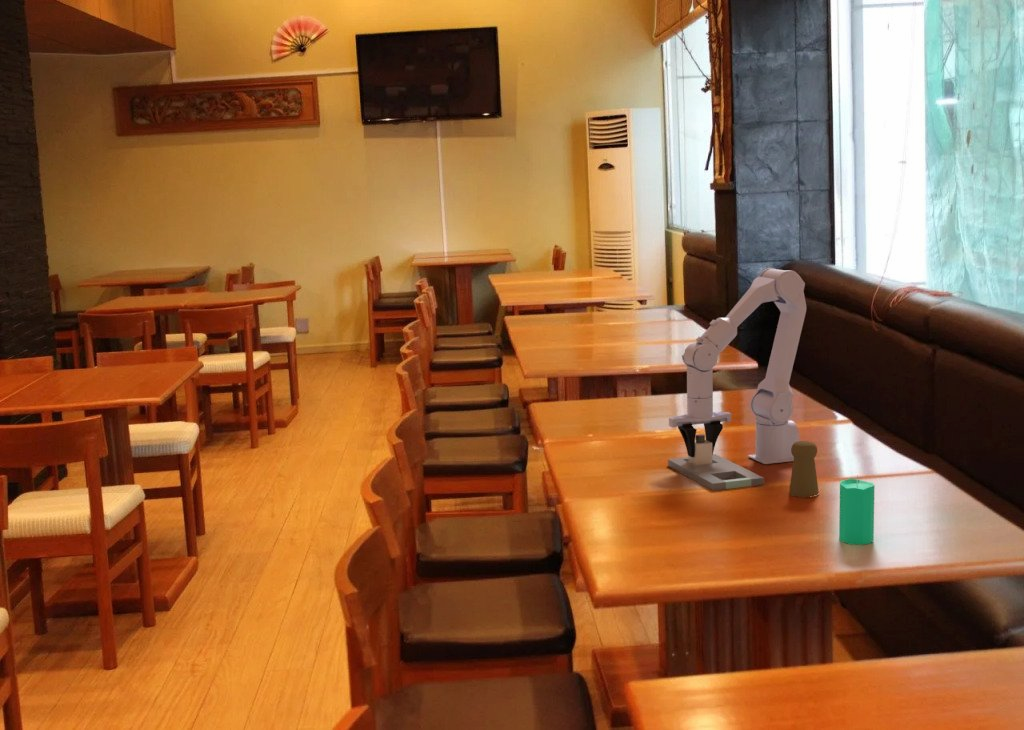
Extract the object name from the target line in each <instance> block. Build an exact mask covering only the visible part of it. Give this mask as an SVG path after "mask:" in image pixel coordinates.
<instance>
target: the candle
mask: <svg viewBox="0 0 1024 730" xmlns="http://www.w3.org/2000/svg"><path fill="white" fill-rule="evenodd" d="M838 524H839V525H838V527H839V529H838V530H839V531H838V538H839V541H840V542H842V543H844V542H845V543H844V544H847V543H848V545H853V546H863V545H862V544H865V545H869V544H868V543H870V544H872V543H873V542H874V535H875V533H874V531H875V526H874V525H875V483H873V482H869V481H865V480H861V479H858V474H857V475H856V479H855V478H847V479H843V480H841V481H839V523H838ZM872 541H873V542H872ZM871 542H872V543H871ZM856 544H858V545H856Z"/></svg>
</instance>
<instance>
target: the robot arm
mask: <svg viewBox="0 0 1024 730" xmlns="http://www.w3.org/2000/svg"><path fill="white" fill-rule="evenodd" d="M805 286H806V283H805V281H804V280H803V278H802V277H801V276H800V274H799V273H797V272H796V271H795V270H789V269H788V270H783V269H778V268H774V267H767V268H766V269H764V270H762V272H760V274H759V275H758V276H757V277H755V278H754V280H752V283H751V285H750V287H749V288H748V290H747V291H746V292H745V293H744V294H743V295H742V297H741V298H740V299H739V300H738V301H737V303H736V304H735V305H734V306H733V308H731V310H730V311H729V312H728V313H727V315H726V316H725V317H718V318H716V319H712V320H711V321H710V322H709V325H710V326H708V328H706V330H705V331H703V333H702V335H701V336H698V337H696V339H695V340H696V342H693V343H689V344H688V345H687V347H686V348H685V349H684V353H683V354H682V355H681V359H682V362H683V363H684V365H685V366H686V394H687V395H686V399H687V400H686V403H687V405H686V409H687V411H686V413H687V414H683V415H677V416H671V417H668V426H669V427H671V428H677V429H678V431H679V432H680V434H681V437H682V439H683V441H684V445H685V447H686V453H687V455H688V456H687V457H689V456H690V457H694V455H695V440H696V435H697V428H696V427H695V428H694V425H701V424H703V428H704V433H705V434H704V435H705V440H707V441H709V442H711V443H712V455H713V454H714V451H715V447H716V443H717V440H718V438H719V436H720V434H721V432H722V431H723V428H724V427H723V426H724V425H723V422H724V423H725V422H726V423H730V422H731V421H732V413H731V412H728V411H722V412H719V411H717V412H716V411H715V412H714V398H713V396H714V395H713V394H714V390H713V389H714V388H713V387H714V386H713V383H714V382H713V380H714V379H713V378H714V377H713V376H714V375H713V373H714V371H713V370H714V369H713V368H714V367H716V366H717V363H718V361H719V359H718V358H719V355H720V354H721V353H722V352H723V351H724V349H726V347H728V345H729V344H730V343H731V342H732V341H733V340H734V339H735V338H736V336H737V335H738V327H739V326H740V325H741V324H743V322H744V321H745V320H746V319H747V318H748V317H749V316H750V315H751V314H752V313H753V312H755V310H756V309H757V308H759V306H761V304H763V303H769V302H773V303H774V304H775V306H776V307H777V308H778V310H779V312H780V314H779V317H778V318H779V319H778V323H777V325H776V327H777V328H776V330H775V331H776V332H775V335H774V339H773V343H772V349H771V353H770V356H769V361H768V365H767V369H766V373H765V378H764V379H763V380H761V381H760V382H759V383H758V384H757V389H756V391H755V393H754V394H753V396H752V397H751V399H750V403H749V406H750V407H749V408H750V410H751V413H753V415H754V416H755V417H754V418H755V419H754V420H755V454H754V453H753V454H749V455H747V456H748V458H749V459H752V460H754V461H757V462H759V463H761V464H763V465H770V464H781V463H786V462H787V463H788V462H793V461H794V457H793V455H792V453H791V447H792V445H793V444H794V443H795V442H798V441H800V431H799V427H798V425H797V423H796V422H795V421H794V420H792V419H791V417H792V416H793V413H794V404H793V396H794V392H793V389H792V387H791V385H790V380H791V376H792V372H793V368H794V367H793V366H794V363H795V360H796V355H797V351H798V348H799V347H798V346H799V343H800V339H801V338H800V337H801V334H802V330H803V326H804V322H805V318H806V313H807V303H806V296H805V293H804V291H805Z"/></svg>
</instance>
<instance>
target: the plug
mask: <svg viewBox="0 0 1024 730" xmlns="http://www.w3.org/2000/svg"><path fill="white" fill-rule="evenodd" d="M688 457H689V463H690V464H692V465H703V464H712V443H711V442H709V441H707V440H706V435H705V434H696V436H695V455H694V457H690V456H688Z"/></svg>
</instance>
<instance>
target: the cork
mask: <svg viewBox="0 0 1024 730" xmlns="http://www.w3.org/2000/svg"><path fill="white" fill-rule="evenodd" d="M791 453H792V455H793V457H794V461H792V468H791V476H790V483H789V490H788V494H789V495H790V496H791V495H793V496H792V497H794V496H799V497H798V498H800V497H810V496H814V495H817V494H818V493H819V494H820V492H819V486H818V485H819V484H818V476H817V469H816V462H815V459H816V456H817V455H818V454H817V453H818V447H817V445H816V444H815V442H812V441H808V440H799V441H798V442H795V443H794V444H793V445H792V447H791Z"/></svg>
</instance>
